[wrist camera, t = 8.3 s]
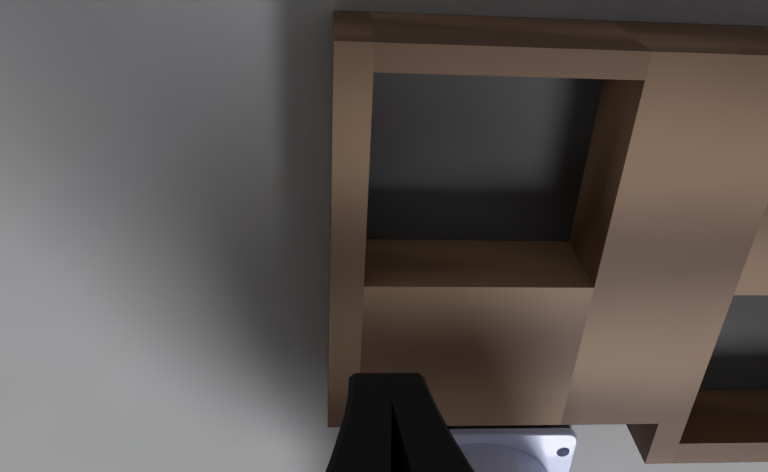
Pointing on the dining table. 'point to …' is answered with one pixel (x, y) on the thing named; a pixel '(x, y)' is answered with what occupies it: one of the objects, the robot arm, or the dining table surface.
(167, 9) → the dining table surface
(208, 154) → the dining table surface
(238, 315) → the dining table surface
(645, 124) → the trap board
